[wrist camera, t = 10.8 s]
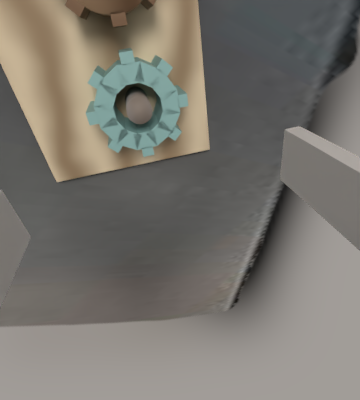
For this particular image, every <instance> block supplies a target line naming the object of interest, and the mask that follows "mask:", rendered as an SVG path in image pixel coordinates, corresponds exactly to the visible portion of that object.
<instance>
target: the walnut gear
mask: <svg viewBox="0 0 360 400" xmlns="http://www.w3.org/2000/svg"><path fill="white" fill-rule="evenodd" d="M155 2H156V0H67V1H66V3H65V6H66V7H67V8H69V9H70V10H71V11H72V12H74V13H75V14H76V15H78V16H79V17H81V18H83V19H85V20H86V19H87V17H88V15H89V13H90V11H91V12H93V13H95V14H97V15H100V16H104V17H111V20H112V24H113V27H114V28H117V27H123V26H127V25H128V24H127V19H126V14H128V13H130V12H132V11H133V10H134V9H135V8H136V7H137V6H138V5H139V4H140V3H141V4H142V5H143V6H144V7H145V8H146V9H147V10H148V9H150V8H151V7H152V6H153V5H154V4H155Z"/></svg>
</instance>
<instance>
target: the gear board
mask: <svg viewBox="0 0 360 400" xmlns="http://www.w3.org/2000/svg"><path fill="white" fill-rule="evenodd" d="M66 1H67V0H0V63H1V65H2V68H3V70H4V72H5V74H6V76H7V78H8V80H9V82H10V84H11V87H12V89H13V91H14V93H15V95H16V97H17V99H18V101H19V103H20V106H21V108H22V110H23V112H24V114H25V116H26V118H27V120H28V122H29V125H30V127H31V129H32V131H33V133H34V135H35V137H36V139H37V141H38V144H39V146H40V148H41V150H42V152H43V154H44V156H45V158H46V160H47V163H48V165H49V167H50V169H51V171H52V173H53V175H54V177H55V180H56V182H60V181H65V180H70V179H74V178H79V177H84V176H88V175H93V174H98V173H102V172H107V171H112V170H116V169H121V168H126V167H130V166H135V165H140V164H144V163H149V162H153V161H158V160H163V159H167V158H172V157H177V156H181V155H186V154H191V153H195V152H200V151H205V150H209V149H210V147H209V134H208V122H207V109H206V96H205V84H204V71H203V59H202V46H201V34H200V21H199V8H198V0H156V2H155V4H154V5H153V6H152V7H151V8H150V9H148V10H147V9H146V8H145V7H144V6H143V5H142V4H141V3H140V4H139V5H138V6H137V7H136V8H135V9H134V10H133V11H132V12H130V13H128V14H126V19H127V24H128V25H127V26H123V27H117V28H114V27H113V24H112V20H111V17H104V16H100V15H97V14H95V13H93V12H91V11H90V13H89V15H88V17H87V19H86V20H85V19H83V18H81V17H79V16H78V15H76V14H75V13H74V12H72V11H71V10H70V9H69V8H67V7H66V6H65V3H66ZM126 48H131V49H132V51H133V55H134V57H138V58H141V59H143V60H145V61H148V62H150V63H151V62H152V60H153V58H154V57H155V55H157V56H158V57H160V58H162V59H163V60H164V61H166V62H167V63H168V64H169V65H171V66H172V67H173V68H172V70H171V71H170V73H169V74H168V76H167V77H168V78H169V80H170V81H171V82H172V84H173V85H178V86H179V87H180V88H181V89H182V90H184V91H185V92H186V93H187V98H188V106H186V107H181V108H180V115H179V117H178V120H177V125H178V127H179V128H180V130H181V131H182V132H181V134H180V135H179V136H178V138H177V139H176V141H174V140H173V139H171V138H170V137H167V138H166V139H165V140H164V141H162V142H161V143H160V144H159V145H158V146H154V147H153V150H154V155H150V156H146V157H143V153H142V149H140V150H135V149H132V148H128V147H125V146H122V148H121V150H120V151H119V153H117V152H116V151H114V150H112V149H110V148H108V139H109V136H108V135H107V134H106V133H105V132H104V131H103V130H102V129H101V128H100V125H99V124H95V125H89V122H88V119H87V116H86V111H87V108H88V106H89V104H90V101H95V97H96V93H97V89H96V88H94V87H93V86H91V85H90V84H88V81H89V79H90V78H91V76H92V74H93V72H94V70H95V69H96V67H97V66H100V67H101V68H103V69H104V70H105V71H106V70H107V69H108V68H109V67H110V66H111V65H112V64H113V63H115V62H116V61H117V60H120V57H119V50H121V49H126ZM156 101H157V99H156V94H155V91H154V89H153V88H152V87H149V86H147V85H144V84H141V83H135V84H130V85H126V86H125V87H124V88H123V89H122V90H121V91H120V92H119V93H117V94H116V98H115V103H116V107H117V109H118V110H119V111H120V112H121V113H122V114H123V115H124V116H125V117H128V118H129V119H130V120H131V121H132V122H133V123H136V124H144V123H146V122H148V121H149V120H150V119H151V117H152V112H153V110H154V107H155V104H156Z"/></svg>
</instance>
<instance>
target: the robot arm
mask: <svg viewBox="0 0 360 400" xmlns="http://www.w3.org/2000/svg"><path fill="white" fill-rule="evenodd" d="M280 180H282V181H283V182H284V183H285V184H286V185H287V186H288V187H289V188H291V189H292V190H293V191H294V192H295V193H296V194H297V195H298V196H300V197H301V198H302V199H303V200H304V201H305V202H306V203H307V204H308V205H310V206H311V207H312V208H313V209H314V210H315V211H316V212H317V213H319V214H320V215H321V216H322V217H323V218H324V219H325V220H326V221H327V222H328V223H330V224H331V225H332V226H333V227H334V228H335V229H336V230H337V231H339V232H340V233H341V234H342V235H343V236H344V237H345V238H347V240H349V241H350V242H351V243H352V244H353V245H354V246H355V247H356V248H357V249H359V250H360V157H359V156H357V155H355V154H353V153H351V152H349V151H347V150H345V149H343V148H341V147H339V146H337V145H335V144H333V143H331V142H329V141H327V140H325V139H323V138H321V137H320V136H317V135H315V134H314V133H312V132H310V131H308V130H306V129H304V128H302V127H300V126H299V127H294V128H290V129H285V132H284V143H283V154H282V164H281V175H280ZM30 238H31V236H30V234H29V233H28V231H27V230H26V228H25V226H24V225H23V223H22V222H21V220H20V218H19V217H18V215H17V214H16V212H15V210H14V209H13V207H12V206H11V204H10V202H9V201H8V199H7V198H6V196H5V194H4V193H3V191H2V190H0V309H1V306H2V304H3V302H4V299H5V297H6V294H7V292H8V290H9V287H10V285H11V283H12V280H13V278H14V276H15V273H16V271H17V269H18V266H19V264H20V262H21V259H22V257H23V255H24V252H25V250H26V247H27V245H28V243H29V240H30Z"/></svg>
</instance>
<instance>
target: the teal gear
mask: <svg viewBox="0 0 360 400" xmlns="http://www.w3.org/2000/svg"><path fill="white" fill-rule="evenodd" d="M119 57H120V60H117V61H116V62H115V63H113V64H112V65H111V66H110V67H109V68H108V69H107V70H106V71H105V70H104V69H103V68H101V67H100V66H97V67H96V69H95V70H94V72H93V74H92V76H91V78H90V79H89V81H88V84H90V85H91V86H93V87H94V88H96V89H97V93H96V97H95V101H90V104H89V106H88V108H87V111H86V116H87V119H88V122H89V125H95V124H99V125H100V128H101V129H102V130H103V131H104V132H105V133H106V134H107V135H108V136H109V139H108V148H110V149H112V150H114V151H116V152H117V153H119V151H120V150H121V148H122V146H125V147H128V148H132V149H135V150H140V149H142V153H143V157H146V156H150V155H154V150H153V147H154V146H158V145H159V144H160V143H161V142H162V141H164V140H165V139H166V138H167V137H170V138H171V139H173V140H174V141H176V139H177V138H178V136H179V135H180V134H181V132H182V131H181V130H180V128H179V127H178V125H177V120H178V117H179V115H180V108H181V107H186V106H188V98H187V93H186V92H185V91H184V90H182V89H181V88H180V87H179V86H178V85H173V84H172V82H171V81H170V80H169V78H168V77H167V76H168V74H169V73H170V71H171V70H172V68H173V67H172V66H171V65H169V64H168V63H167V62H166V61H164V60H163V59H162V58H160V57H158V56H157V55H155V57H154V58H153V60H152V62H151V63H150V62H148V61H145V60H143V59H141V58H138V57H134V55H133V51H132V49H131V48H126V49H121V50H119ZM135 83H141V84H144V85H147V86H149V87H152V88H153V89H154V91H155V94H156V99H157V101H156V104H155V107H154V110H153V112H152V117H151V119H150V120H149V121H148V122H146V123H144V124H136V123H133V122H132V121H131V120H130V119H129V118H128V117H125V116H124V115H123V114H122V113H121V112H120V111H119V110H118V109H117V107H116V103H115V98H116V94H117V93H119V92H120V91H121V90H122V89H123V88H124V87H125V86H126V85H130V84H135Z"/></svg>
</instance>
